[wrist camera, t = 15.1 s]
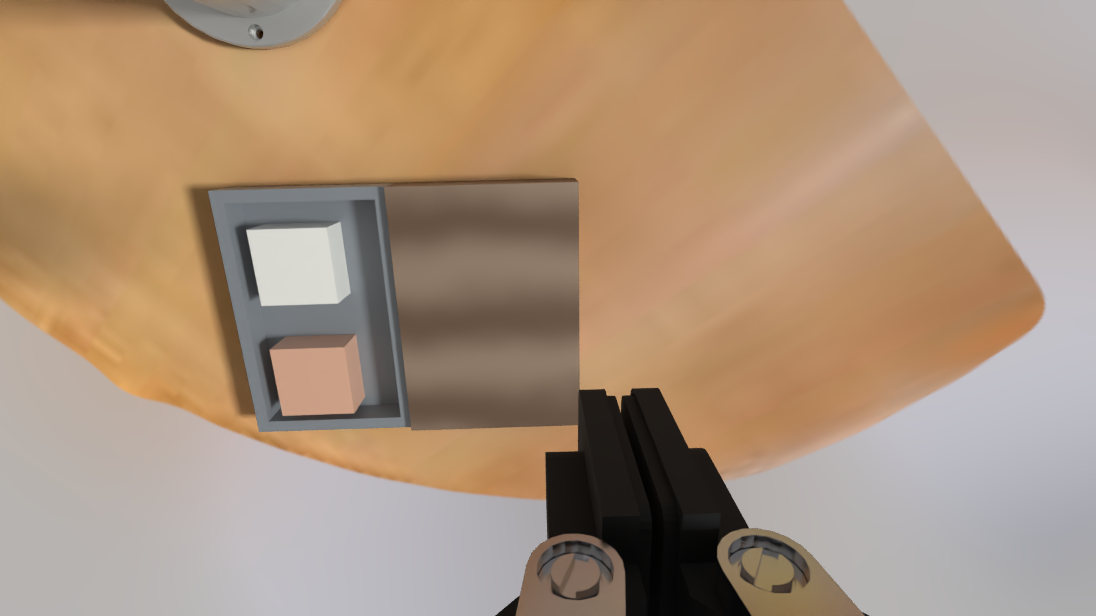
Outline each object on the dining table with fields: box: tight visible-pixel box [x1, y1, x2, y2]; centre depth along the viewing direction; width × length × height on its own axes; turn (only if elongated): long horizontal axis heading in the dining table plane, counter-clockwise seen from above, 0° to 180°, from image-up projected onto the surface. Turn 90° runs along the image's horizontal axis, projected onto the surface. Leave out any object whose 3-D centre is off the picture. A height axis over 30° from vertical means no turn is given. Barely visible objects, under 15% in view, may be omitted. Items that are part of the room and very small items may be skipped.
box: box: [208, 183, 411, 432], centre depth 37 cm, size 17×11×2 cm, turn 1°
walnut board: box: [384, 178, 580, 430], centre depth 37 cm, size 17×12×3 cm
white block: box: [246, 222, 351, 306], centre depth 35 cm, size 5×5×2 cm
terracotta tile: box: [270, 334, 365, 416], centre depth 38 cm, size 5×5×2 cm
